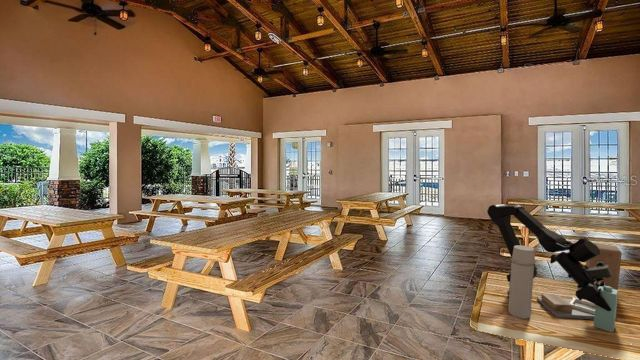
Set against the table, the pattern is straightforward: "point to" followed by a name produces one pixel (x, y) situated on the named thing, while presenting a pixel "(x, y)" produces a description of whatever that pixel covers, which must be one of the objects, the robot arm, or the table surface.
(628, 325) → the table surface
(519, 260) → the water bottle
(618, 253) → the wooden block
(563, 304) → the walnut base slab
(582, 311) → the baseboard
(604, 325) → the teal post
